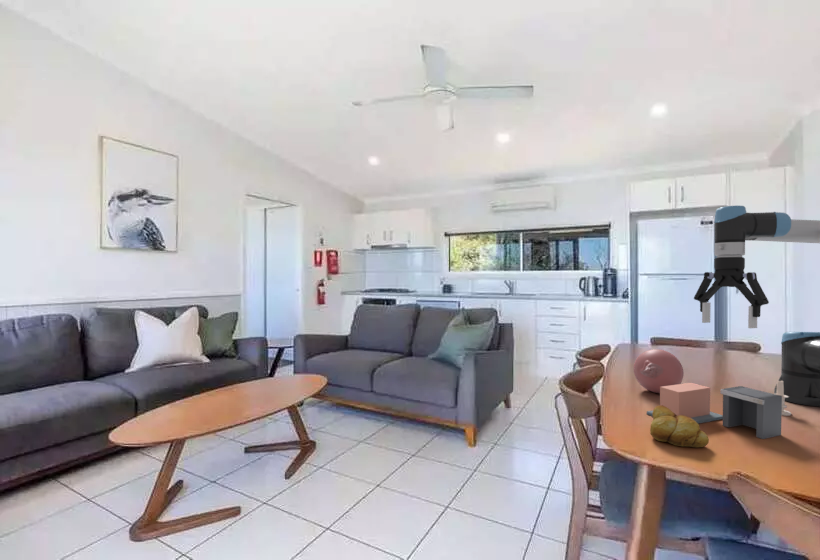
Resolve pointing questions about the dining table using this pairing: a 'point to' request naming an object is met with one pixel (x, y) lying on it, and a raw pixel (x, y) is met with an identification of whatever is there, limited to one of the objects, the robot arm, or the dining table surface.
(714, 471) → the dining table surface
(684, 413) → the salmon pink rectangular block
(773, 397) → the box
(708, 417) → the mat
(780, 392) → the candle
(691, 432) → the bread roll
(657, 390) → the balloon
